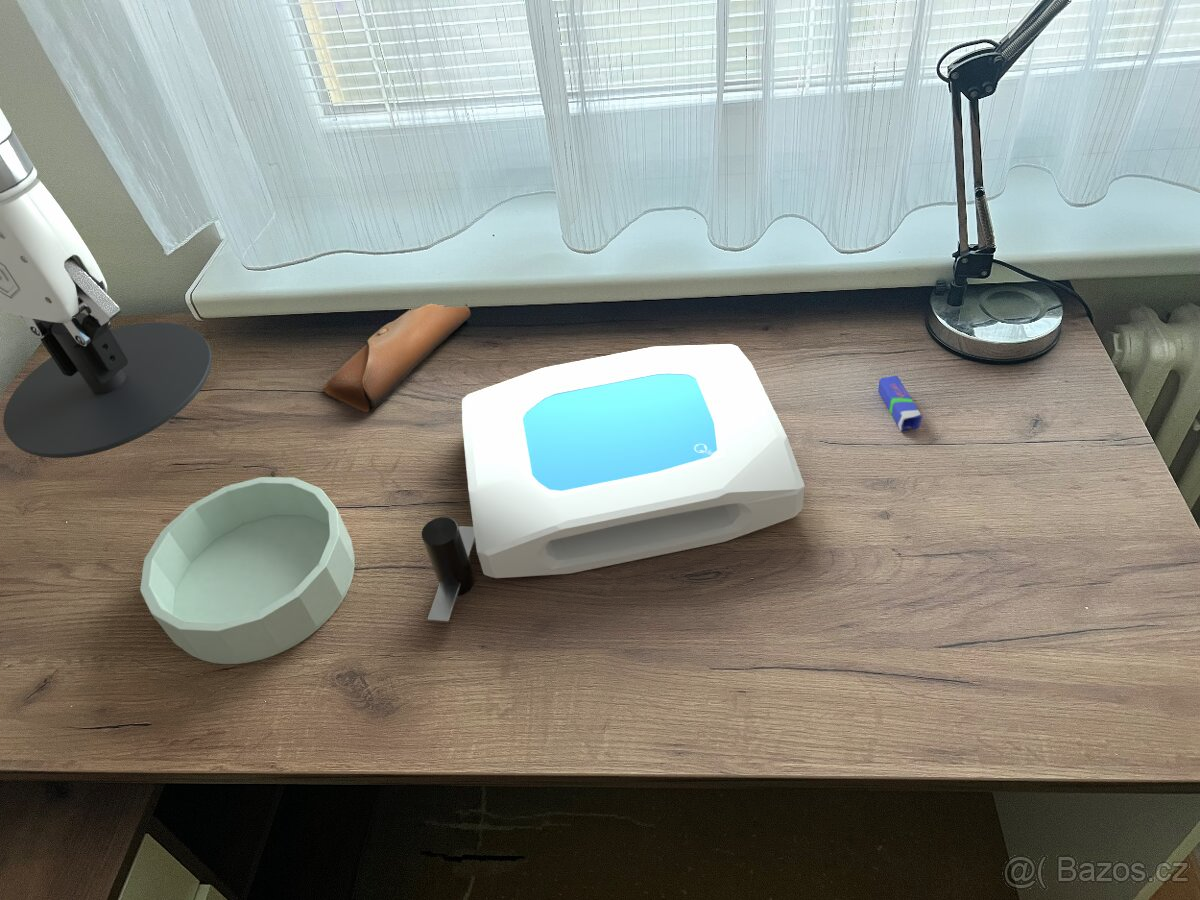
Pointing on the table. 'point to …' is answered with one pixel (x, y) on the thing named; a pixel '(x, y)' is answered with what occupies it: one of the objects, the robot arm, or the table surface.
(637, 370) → the document scanner
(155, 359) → the lid
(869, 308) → the table surface
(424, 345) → the sunglasses case
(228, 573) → the bowl
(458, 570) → the blade
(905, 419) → the eraser
